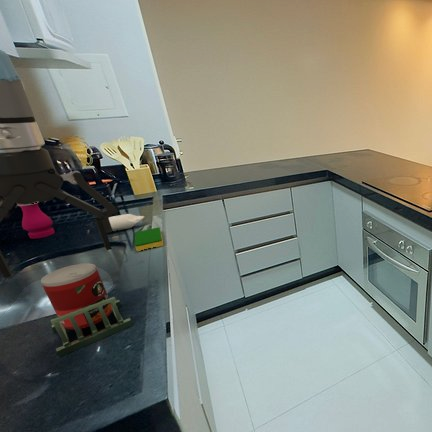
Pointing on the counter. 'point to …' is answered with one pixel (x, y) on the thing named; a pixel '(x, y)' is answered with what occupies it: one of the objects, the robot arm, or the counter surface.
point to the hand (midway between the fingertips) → (62, 260)
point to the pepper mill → (36, 221)
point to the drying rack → (95, 334)
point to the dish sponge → (148, 239)
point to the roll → (124, 221)
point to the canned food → (76, 293)
